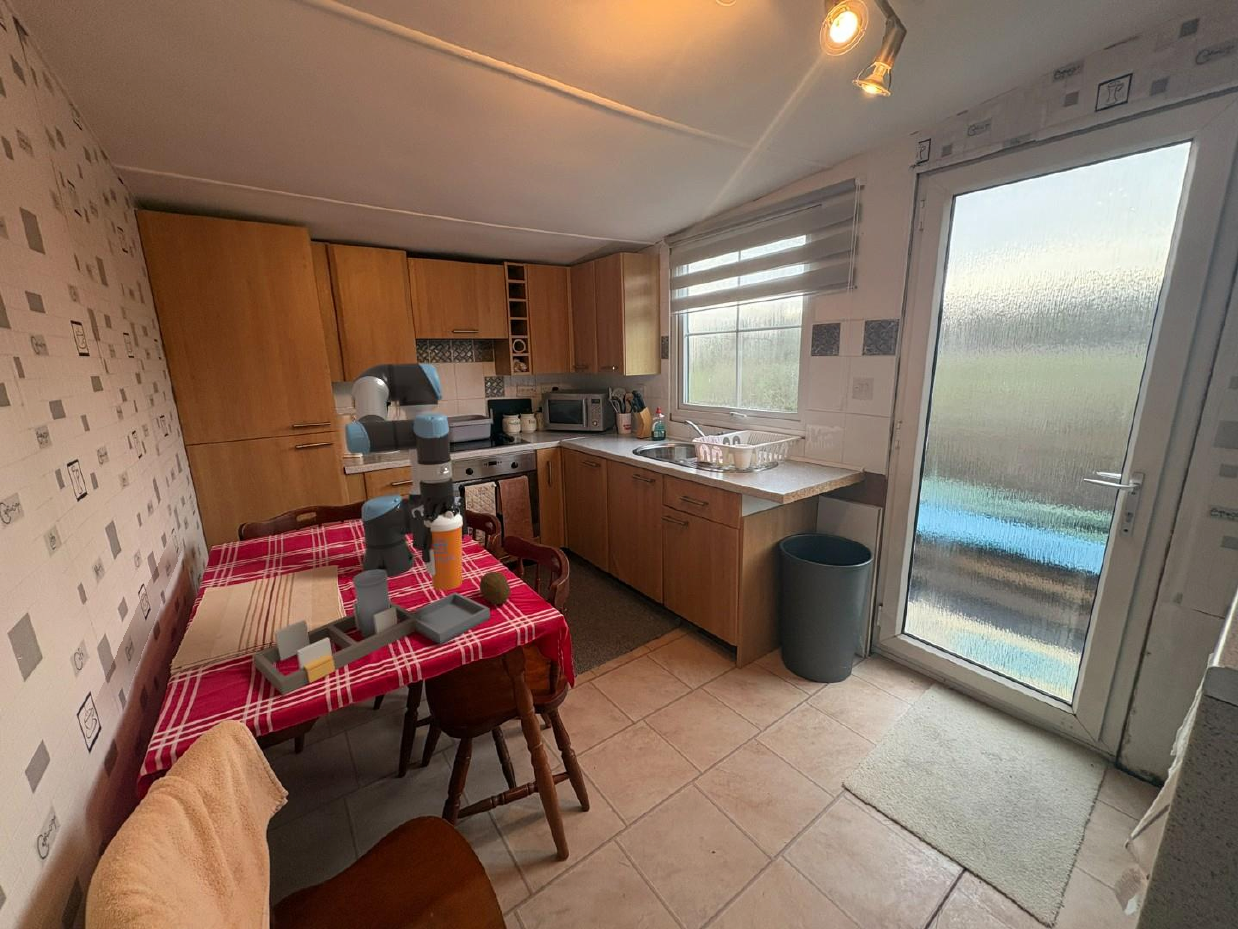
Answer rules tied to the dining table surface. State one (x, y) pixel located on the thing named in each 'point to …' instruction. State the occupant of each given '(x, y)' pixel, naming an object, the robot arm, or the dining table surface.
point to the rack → (328, 646)
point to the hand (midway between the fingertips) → (444, 568)
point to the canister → (371, 598)
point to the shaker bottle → (447, 549)
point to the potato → (495, 587)
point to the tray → (449, 617)
